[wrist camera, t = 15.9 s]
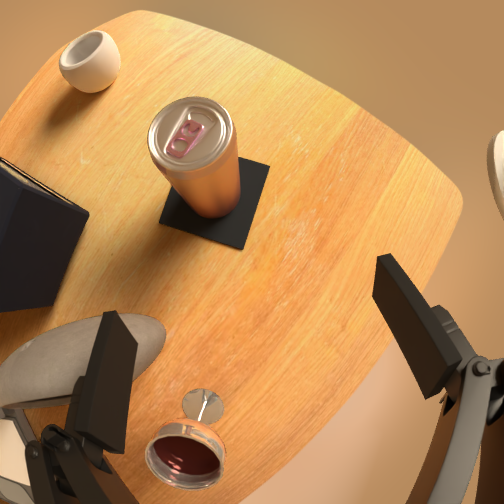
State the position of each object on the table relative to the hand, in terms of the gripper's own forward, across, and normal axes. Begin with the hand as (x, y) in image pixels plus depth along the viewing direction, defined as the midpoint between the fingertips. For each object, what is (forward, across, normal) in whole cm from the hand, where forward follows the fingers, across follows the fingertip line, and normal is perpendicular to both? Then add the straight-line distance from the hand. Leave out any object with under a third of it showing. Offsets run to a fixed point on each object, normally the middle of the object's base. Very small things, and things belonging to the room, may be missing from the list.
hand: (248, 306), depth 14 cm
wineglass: (+6, -9, -21) cm, 23 cm away
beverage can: (+21, -2, -3) cm, 21 cm away
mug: (+36, -17, +17) cm, 43 cm away
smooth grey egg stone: (+11, -17, -14) cm, 25 cm away
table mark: (+21, -2, -3) cm, 21 cm away
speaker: (+22, -29, 0) cm, 36 cm away
